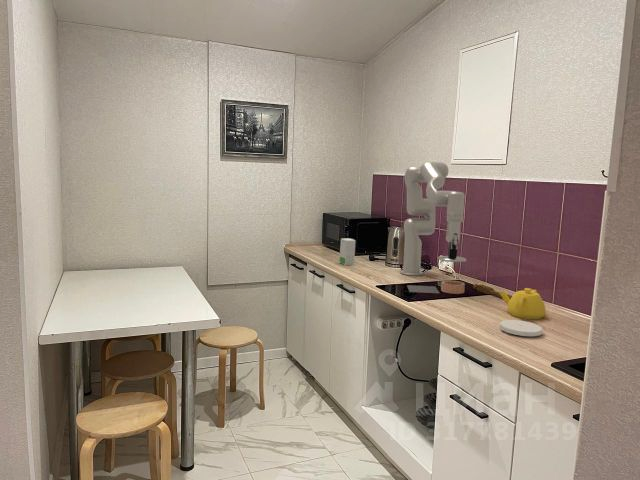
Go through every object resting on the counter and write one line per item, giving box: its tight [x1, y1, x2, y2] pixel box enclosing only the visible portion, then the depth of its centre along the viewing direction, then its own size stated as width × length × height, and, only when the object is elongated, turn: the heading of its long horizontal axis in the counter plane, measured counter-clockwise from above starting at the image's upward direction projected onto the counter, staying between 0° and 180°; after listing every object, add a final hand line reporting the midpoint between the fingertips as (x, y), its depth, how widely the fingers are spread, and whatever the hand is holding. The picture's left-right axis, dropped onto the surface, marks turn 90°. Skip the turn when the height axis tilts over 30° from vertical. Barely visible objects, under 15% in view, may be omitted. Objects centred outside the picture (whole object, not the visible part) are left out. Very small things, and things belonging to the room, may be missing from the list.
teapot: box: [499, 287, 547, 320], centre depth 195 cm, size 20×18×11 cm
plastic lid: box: [499, 319, 543, 337], centre depth 172 cm, size 14×14×2 cm
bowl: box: [440, 280, 466, 295], centre depth 229 cm, size 10×10×4 cm
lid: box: [437, 247, 467, 263], centre depth 227 cm, size 13×13×5 cm
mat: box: [406, 284, 440, 294], centre depth 232 cm, size 14×14×1 cm
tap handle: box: [473, 283, 513, 300], centre depth 225 cm, size 3×3×30 cm
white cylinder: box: [338, 237, 357, 266], centre depth 294 cm, size 8×7×16 cm
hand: (452, 256), depth 227 cm, fingers closed on lid, 3 cm apart
